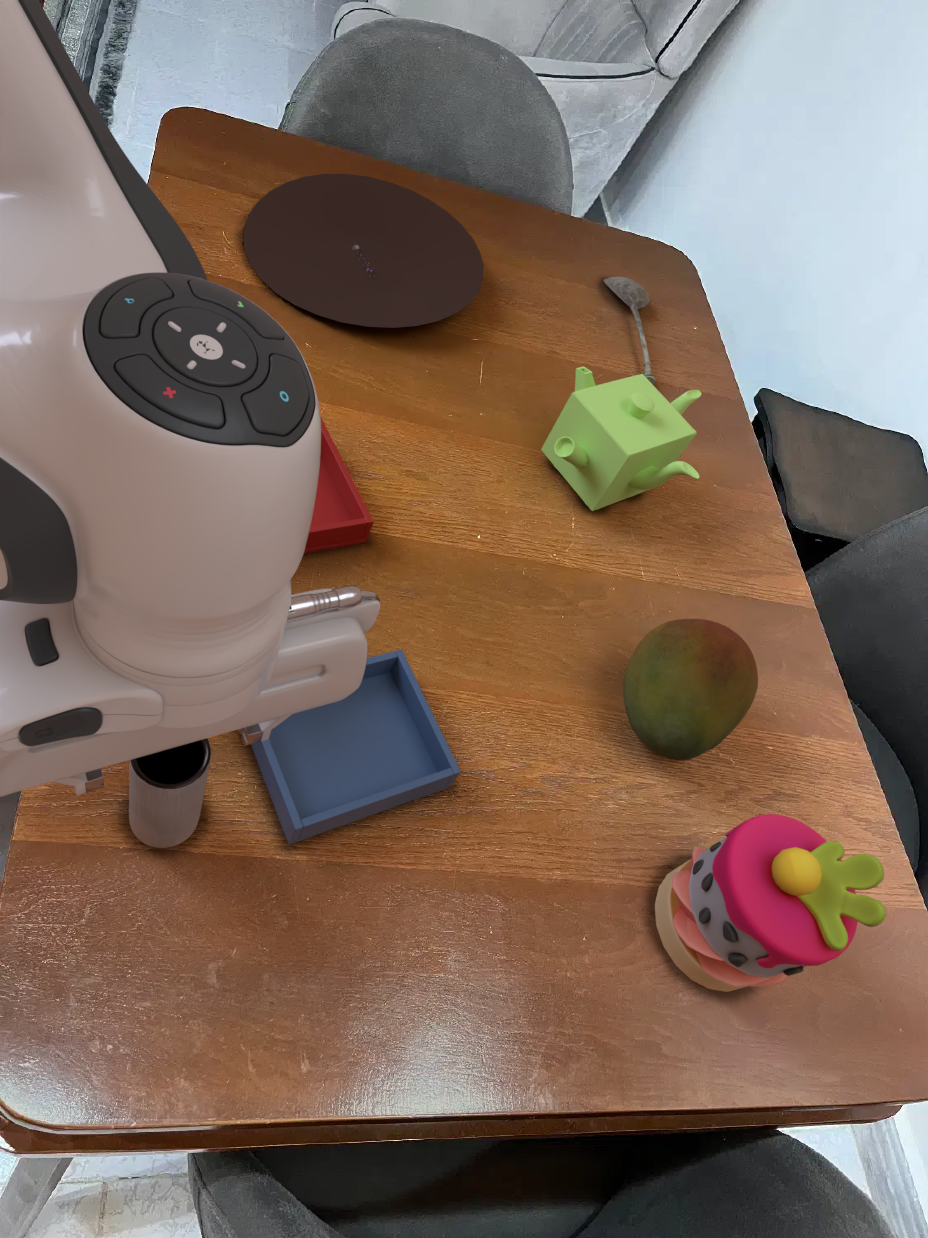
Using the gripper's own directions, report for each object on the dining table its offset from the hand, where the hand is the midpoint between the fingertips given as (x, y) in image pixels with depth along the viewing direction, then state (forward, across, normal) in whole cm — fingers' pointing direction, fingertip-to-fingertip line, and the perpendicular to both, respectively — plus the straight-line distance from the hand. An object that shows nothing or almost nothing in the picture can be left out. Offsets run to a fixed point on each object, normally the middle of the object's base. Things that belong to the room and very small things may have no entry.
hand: (173, 755), depth 49 cm
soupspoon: (+11, -73, -45) cm, 86 cm away
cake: (+11, -36, +22) cm, 43 cm away
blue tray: (+11, -14, -1) cm, 17 cm away
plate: (+11, -40, -59) cm, 72 cm away
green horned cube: (+11, -53, -22) cm, 58 cm away
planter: (+11, 0, 0) cm, 11 cm away
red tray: (+11, -16, -26) cm, 32 cm away
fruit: (+11, -43, +5) cm, 44 cm away
